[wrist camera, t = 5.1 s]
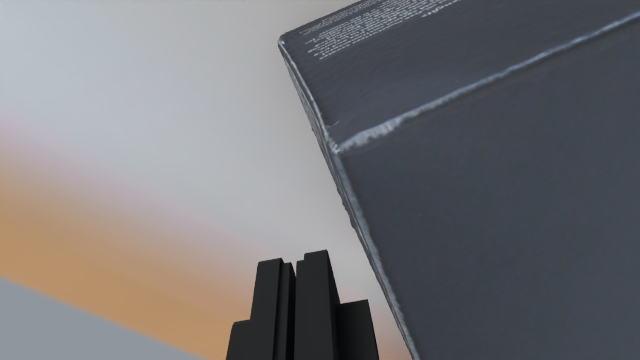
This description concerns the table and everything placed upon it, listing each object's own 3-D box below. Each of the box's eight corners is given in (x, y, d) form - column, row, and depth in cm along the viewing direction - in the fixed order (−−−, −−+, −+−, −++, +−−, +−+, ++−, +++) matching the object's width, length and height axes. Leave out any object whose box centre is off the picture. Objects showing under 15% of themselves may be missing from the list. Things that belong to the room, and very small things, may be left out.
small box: (509, 208, 20) (732, 426, 11) (369, 266, 21) (473, 526, 11) (451, -44, 16) (760, -31, 6) (270, 36, 16) (310, 160, 7)
